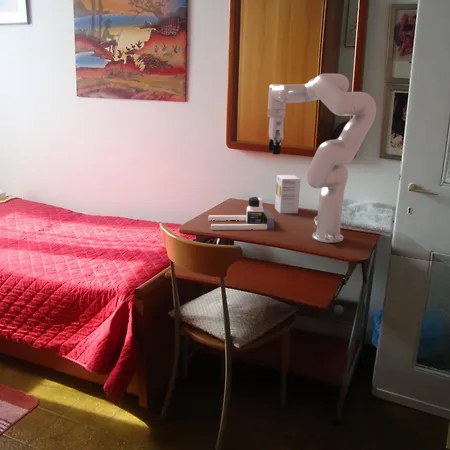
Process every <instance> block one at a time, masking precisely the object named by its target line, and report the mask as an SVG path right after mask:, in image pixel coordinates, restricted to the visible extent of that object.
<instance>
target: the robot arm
mask: <svg viewBox="0 0 450 450" xmlns="http://www.w3.org/2000/svg"><path fill="white" fill-rule="evenodd" d="M268 87H269V88H268V101H267V117H269V122H268V137H269V139H268V151H270V152H271V151H272V155H281V147H282V144H281V143H282V141H284V118H285V117H286V104H291V103H297V104H298V103H306V102H313V101H317V100H320V101H321V102H322V103H323V105H324V106H326V108H327V109H328V110H329V111H330V112H331V113H333V114H334V115H336V116H340V117H347V116H348V117H350V116H352V117H351V119H350V120H349V121H347V123H346V124H345V125H344V127H343V129H342V132H341V133H340V135H339V137H337V138H336V139H329V140H326V141H324V142H322V143H321V144H320V145H319V146H318V148H317V149H316V151H315V153H314V156H313V158H312V160H311V163H310V164H309V166H308V169H307V173H306V181H307V184H308V185H309V186H310V187H311V188H312V189H313V188H314V189H320V192H319V197H318V206H317V217H316V231H315V232H313V233H312V235H311V238H312V239H314V240H315V241H317V242H321V243H329V244H330V243H332V244H334V243H336V244H337V243H340V242H342V241H343V240H344V236H343V235H342V233H341V223H342V215H343V213H342V212H343V204H344V194H345V189H346V185H347V182H348V177H349V170H348V168H347V166H346V165H345V164H349V163H351V162H352V161H353V160H354V159H355V156H356V155H357V153H358V151H359V149H360V147H361V146H362V143H363V141H364V140H365V138H366V135H367V134H368V132H369V130H370V128H371V127H372V126H373V123H374V121H375V119H376V116H377V115H376V114H377V105H376V104H377V103H376V101H375V99H374V98H373V96H371V94H369V93H367V92H363V91H349V87H350V82H349V79H348V77H347V76H345V75H344V74H342V73H321V74H318V75H317V76H316V77H314V78H311V79H310V80H309V81H308V82H307V83H301V84H300V83H299V84H298V83H297V84H295V83H292V84H283V83H271V84H269V86H268Z"/></svg>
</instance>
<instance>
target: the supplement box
mask: <svg viewBox="0 0 450 450" xmlns="http://www.w3.org/2000/svg"><path fill="white" fill-rule="evenodd" d="M300 188H301V178H300V177H299V176H298V177H297V175H295V174H276V184H275V198H274V200H275V201H274V209H275V210H276V211H277V212H278V214H298V213H299V204H300V190H301V189H300Z"/></svg>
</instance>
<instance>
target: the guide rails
mask: <svg viewBox="0 0 450 450" xmlns="http://www.w3.org/2000/svg"><path fill="white" fill-rule="evenodd" d="M246 217H247V214H244V215H243V214H239V215H238V214H236V215H235V214H233V215H225V214H224V215H223V214H222V215H219V214H217V215H216V214H215V215H210V214H209V215H208V220H207V221H209V222H210V221H211V220H212V221H213V220H215V222H217V221H218V220H219V221H220V222H221V221H224V222H226V220H228V221H230V220H236V221H237V220H239V221H246ZM213 222H214V221H213ZM251 229H253V230H256V231H258V230H268V229H267V224H247V223H229V224H228V223H220V224H219V223H218V224H217V223H216V224H215V223H211V224H210V230H211V231H217V230H218V231H221V230H223V231H225V230H226V231H227V230H228V231H229V230H231V231H232V230H234V231H236V230H237V231H240V230H247V231H248V230H251ZM253 230H252V231H253Z"/></svg>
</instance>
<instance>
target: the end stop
mask: <svg viewBox="0 0 450 450" xmlns="http://www.w3.org/2000/svg"><path fill="white" fill-rule="evenodd" d="M263 210H264V219H263V224H267V229H266V230H275V217H274V215H273V214H272V212H271V211H270V210H269V209H268V208H263Z"/></svg>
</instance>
